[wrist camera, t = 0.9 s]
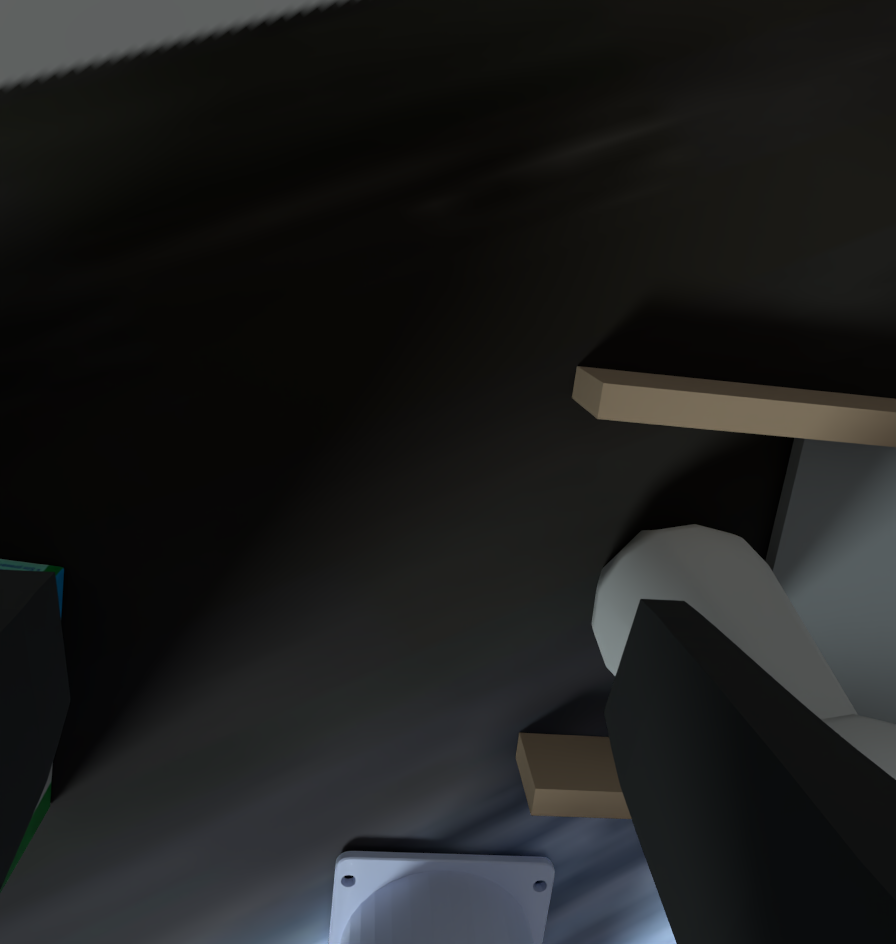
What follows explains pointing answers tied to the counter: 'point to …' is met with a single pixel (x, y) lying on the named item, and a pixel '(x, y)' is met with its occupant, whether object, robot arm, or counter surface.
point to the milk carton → (46, 794)
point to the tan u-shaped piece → (789, 553)
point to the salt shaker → (731, 619)
